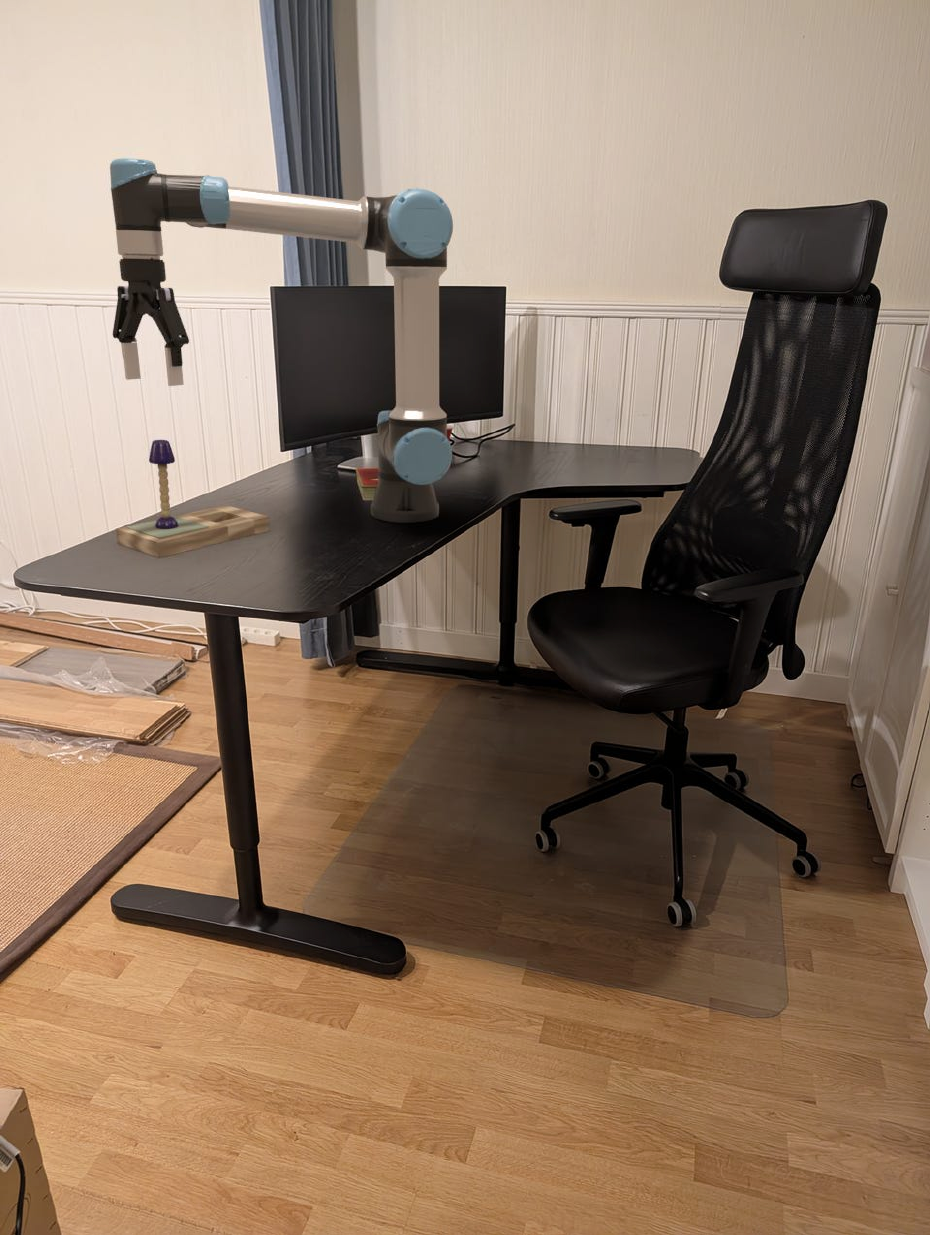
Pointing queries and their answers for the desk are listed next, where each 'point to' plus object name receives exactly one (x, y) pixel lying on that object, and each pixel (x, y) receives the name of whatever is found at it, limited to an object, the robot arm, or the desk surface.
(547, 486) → the desk surface
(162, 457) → the toy lamp
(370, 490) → the hardcover book
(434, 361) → the robot arm
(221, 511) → the light wooden flat block
